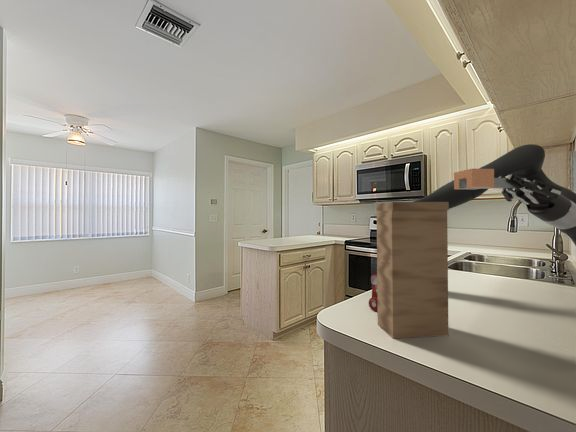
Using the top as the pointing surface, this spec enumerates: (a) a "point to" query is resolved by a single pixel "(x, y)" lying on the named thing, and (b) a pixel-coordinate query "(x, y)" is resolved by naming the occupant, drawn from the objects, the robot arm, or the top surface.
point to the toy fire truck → (374, 294)
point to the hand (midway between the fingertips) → (504, 177)
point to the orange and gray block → (480, 180)
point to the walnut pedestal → (412, 268)
